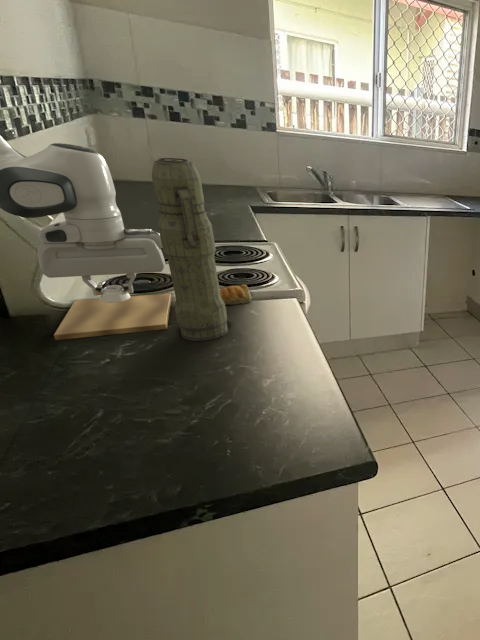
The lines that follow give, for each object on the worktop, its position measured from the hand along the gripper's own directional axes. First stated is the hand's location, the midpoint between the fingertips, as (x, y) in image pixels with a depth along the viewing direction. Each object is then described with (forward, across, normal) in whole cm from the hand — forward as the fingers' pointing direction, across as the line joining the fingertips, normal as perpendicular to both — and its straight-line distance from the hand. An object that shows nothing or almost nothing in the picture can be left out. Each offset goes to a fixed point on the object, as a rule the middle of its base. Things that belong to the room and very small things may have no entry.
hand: (114, 293), depth 102 cm
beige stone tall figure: (+6, -16, +14) cm, 22 cm away
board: (+6, 0, 0) cm, 6 cm away
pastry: (+6, -22, -4) cm, 23 cm away
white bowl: (+2, 0, 0) cm, 2 cm away
